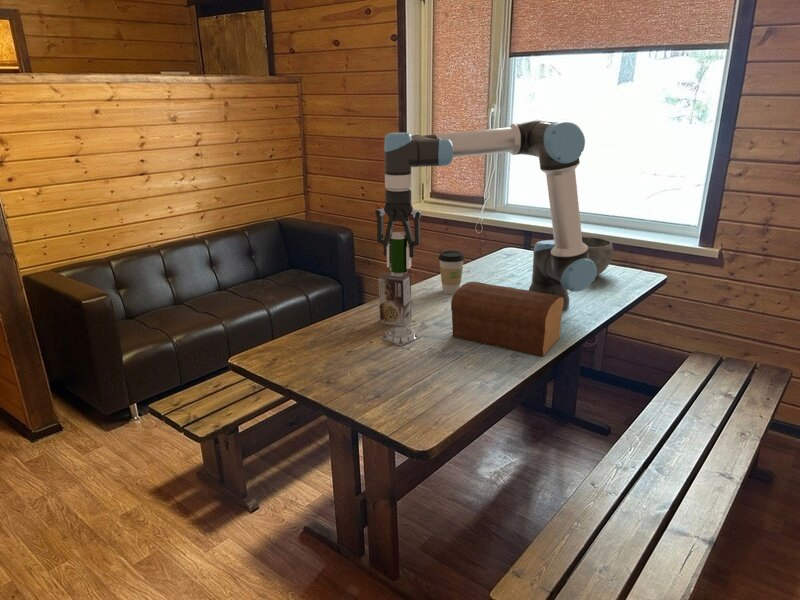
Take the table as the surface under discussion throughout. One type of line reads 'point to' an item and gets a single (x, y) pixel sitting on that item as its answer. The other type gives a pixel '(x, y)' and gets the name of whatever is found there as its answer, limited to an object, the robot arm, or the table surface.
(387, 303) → the coffee box
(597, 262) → the bowl
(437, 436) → the table surface
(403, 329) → the duct flange
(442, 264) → the coffee cup
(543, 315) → the bread
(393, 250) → the beer can
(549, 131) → the robot arm
